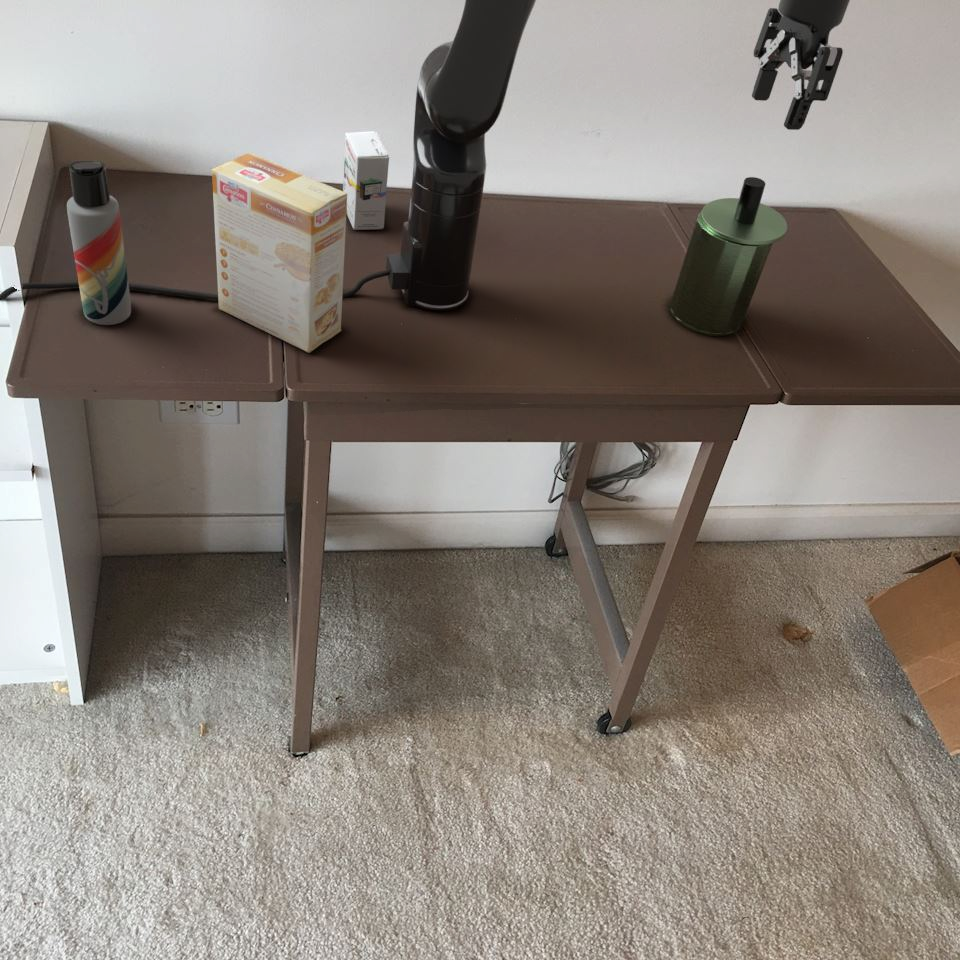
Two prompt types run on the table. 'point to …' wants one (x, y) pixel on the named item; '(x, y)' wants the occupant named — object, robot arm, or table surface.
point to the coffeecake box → (279, 250)
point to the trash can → (716, 282)
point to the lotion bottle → (98, 245)
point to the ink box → (365, 179)
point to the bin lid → (745, 217)
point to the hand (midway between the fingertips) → (775, 113)
